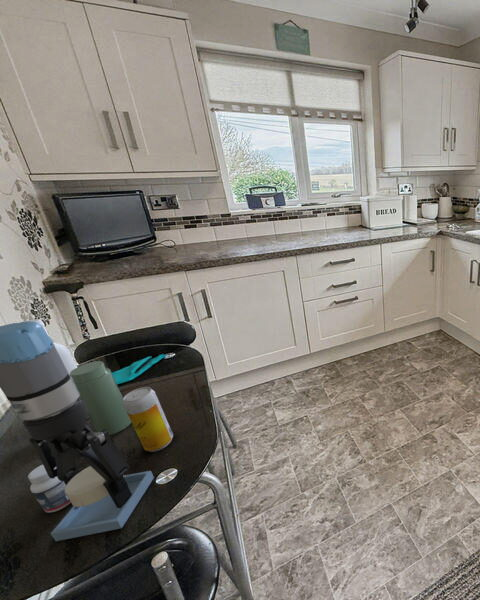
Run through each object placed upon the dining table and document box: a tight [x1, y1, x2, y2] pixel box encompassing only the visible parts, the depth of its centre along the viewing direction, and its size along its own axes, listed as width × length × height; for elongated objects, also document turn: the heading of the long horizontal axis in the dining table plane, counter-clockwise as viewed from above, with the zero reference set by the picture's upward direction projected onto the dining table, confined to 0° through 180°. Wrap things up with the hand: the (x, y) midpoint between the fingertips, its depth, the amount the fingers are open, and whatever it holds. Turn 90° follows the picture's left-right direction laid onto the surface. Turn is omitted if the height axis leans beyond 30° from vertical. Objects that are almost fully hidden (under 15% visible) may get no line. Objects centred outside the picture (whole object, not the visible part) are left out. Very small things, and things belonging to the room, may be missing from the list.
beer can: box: [123, 386, 174, 453], centre depth 78 cm, size 6×6×15 cm
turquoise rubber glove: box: [111, 353, 167, 385], centre depth 114 cm, size 26×14×2 cm, turn 132°
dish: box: [50, 470, 155, 542], centre depth 65 cm, size 11×11×2 cm
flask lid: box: [65, 465, 125, 507], centre depth 63 cm, size 8×8×3 cm
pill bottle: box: [27, 464, 72, 514], centre depth 66 cm, size 5×5×9 cm
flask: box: [70, 360, 132, 436], centre depth 85 cm, size 8×8×18 cm
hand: (106, 500), depth 65 cm, fingers closed on flask lid, 8 cm apart
